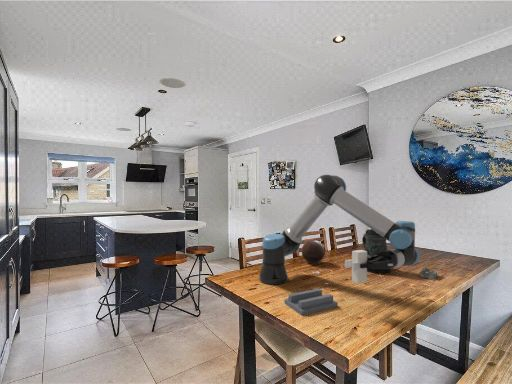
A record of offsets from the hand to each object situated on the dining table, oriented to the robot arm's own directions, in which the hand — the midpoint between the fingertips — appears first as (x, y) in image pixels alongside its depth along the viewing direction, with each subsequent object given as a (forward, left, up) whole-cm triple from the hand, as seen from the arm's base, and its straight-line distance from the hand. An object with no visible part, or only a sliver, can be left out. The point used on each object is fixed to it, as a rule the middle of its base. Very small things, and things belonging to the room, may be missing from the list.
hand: (349, 265), depth 103 cm
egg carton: (+19, +73, -19) cm, 77 cm away
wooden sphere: (-44, +57, -19) cm, 74 cm away
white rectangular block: (+2, +5, -7) cm, 9 cm away
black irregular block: (-9, +67, -19) cm, 70 cm away
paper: (-30, +35, -19) cm, 50 cm away
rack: (-15, -3, -18) cm, 24 cm away
